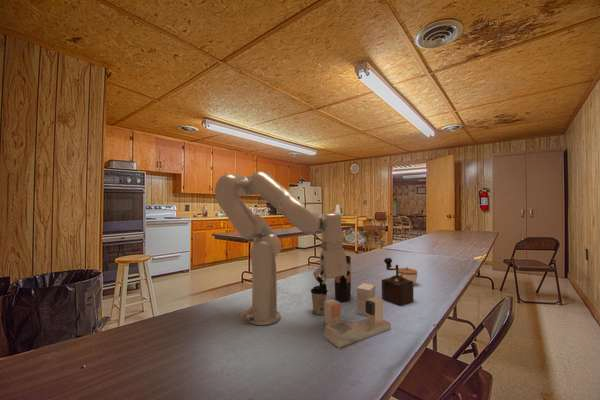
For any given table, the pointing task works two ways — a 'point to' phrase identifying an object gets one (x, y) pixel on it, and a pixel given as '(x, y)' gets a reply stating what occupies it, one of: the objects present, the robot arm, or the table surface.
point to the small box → (364, 296)
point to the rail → (358, 326)
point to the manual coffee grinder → (396, 287)
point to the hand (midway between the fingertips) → (333, 291)
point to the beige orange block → (331, 311)
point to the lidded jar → (408, 274)
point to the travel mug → (341, 293)
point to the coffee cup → (318, 300)
